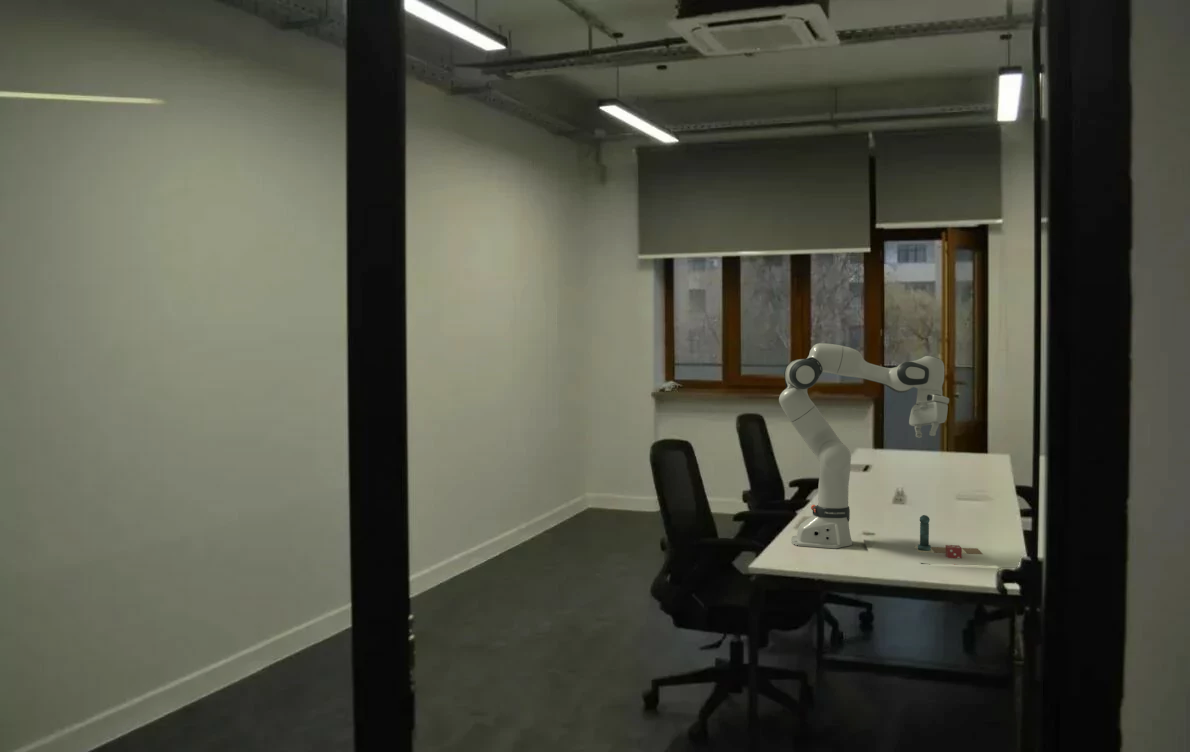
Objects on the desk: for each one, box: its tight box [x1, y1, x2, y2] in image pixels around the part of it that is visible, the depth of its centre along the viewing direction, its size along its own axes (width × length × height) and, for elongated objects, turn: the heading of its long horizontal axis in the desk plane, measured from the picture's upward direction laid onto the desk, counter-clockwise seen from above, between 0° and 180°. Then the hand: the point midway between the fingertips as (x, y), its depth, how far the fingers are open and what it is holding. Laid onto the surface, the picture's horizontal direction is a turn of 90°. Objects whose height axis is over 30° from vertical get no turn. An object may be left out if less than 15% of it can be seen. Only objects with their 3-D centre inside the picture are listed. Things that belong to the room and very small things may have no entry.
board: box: [914, 545, 984, 555], centre depth 345 cm, size 23×10×1 cm, turn 80°
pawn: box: [917, 514, 932, 551], centre depth 346 cm, size 4×4×12 cm
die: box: [945, 544, 963, 559], centre depth 335 cm, size 4×5×5 cm
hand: (925, 436), depth 354 cm, fingers open, 8 cm apart
